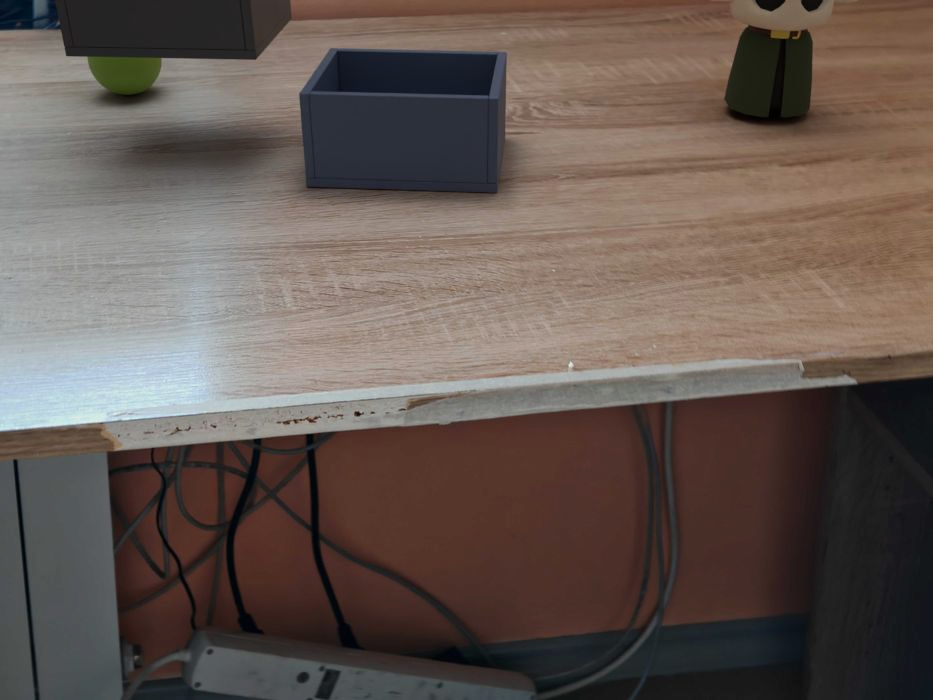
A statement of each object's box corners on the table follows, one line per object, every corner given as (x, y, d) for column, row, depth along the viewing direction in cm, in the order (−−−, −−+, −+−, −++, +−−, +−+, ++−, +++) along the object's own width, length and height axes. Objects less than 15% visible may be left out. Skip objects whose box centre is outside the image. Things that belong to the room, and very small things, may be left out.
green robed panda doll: (697, 126, 78) (719, -65, 71) (686, 95, 84) (704, -84, 77) (851, 129, 77) (888, -64, 70) (829, 97, 83) (860, -83, 76)
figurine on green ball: (135, 76, 88) (110, -81, 82) (180, 92, 84) (157, -70, 78) (74, 90, 85) (43, -71, 79) (117, 109, 81) (88, -60, 75)
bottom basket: (306, 187, 68) (298, 93, 65) (335, 132, 76) (330, 47, 73) (497, 193, 67) (498, 98, 64) (505, 137, 76) (506, 51, 73)
